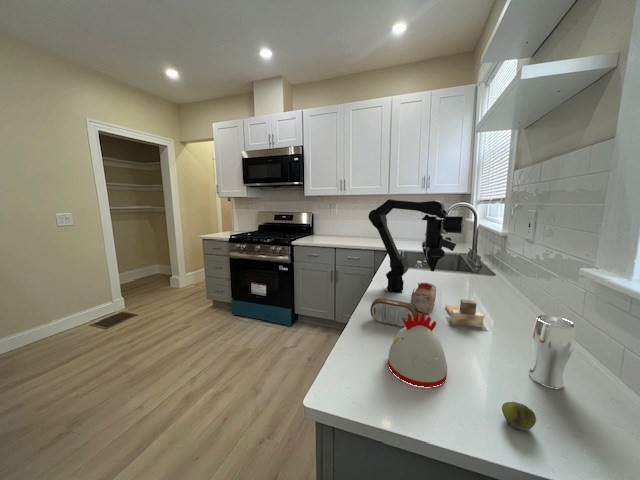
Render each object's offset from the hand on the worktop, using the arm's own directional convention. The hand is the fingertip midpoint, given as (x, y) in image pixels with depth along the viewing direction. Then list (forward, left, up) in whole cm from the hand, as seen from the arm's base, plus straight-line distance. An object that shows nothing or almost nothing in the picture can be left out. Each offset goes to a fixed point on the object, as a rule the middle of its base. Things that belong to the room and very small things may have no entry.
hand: (430, 268), depth 104 cm
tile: (+9, -10, -12) cm, 18 cm away
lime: (+8, -61, -13) cm, 63 cm away
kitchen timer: (-9, -49, -13) cm, 52 cm away
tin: (-15, -28, -13) cm, 34 cm away
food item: (-3, -11, -13) cm, 18 cm away
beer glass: (+20, -45, -13) cm, 51 cm away
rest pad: (+9, -21, -13) cm, 27 cm away
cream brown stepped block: (+9, -22, -13) cm, 27 cm away
